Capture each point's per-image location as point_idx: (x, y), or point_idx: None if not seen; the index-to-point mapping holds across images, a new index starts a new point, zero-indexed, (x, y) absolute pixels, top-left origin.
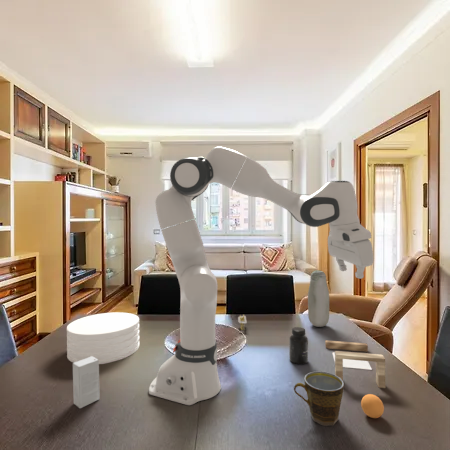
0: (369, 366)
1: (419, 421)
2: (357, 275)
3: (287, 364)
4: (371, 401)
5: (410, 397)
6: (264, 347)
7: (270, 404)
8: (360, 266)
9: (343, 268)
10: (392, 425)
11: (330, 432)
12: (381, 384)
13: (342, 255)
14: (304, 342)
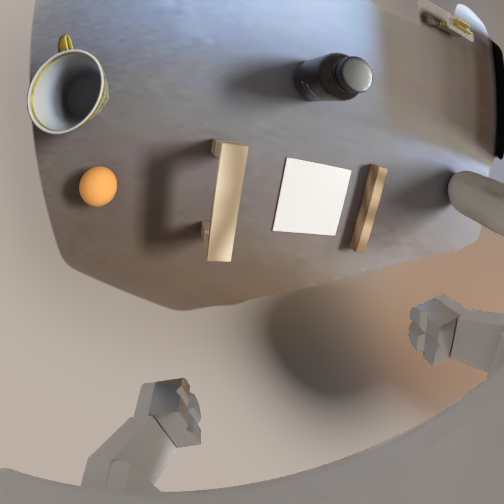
0: (286, 229)
1: (106, 253)
2: (144, 399)
3: (294, 51)
4: (82, 185)
5: (174, 265)
6: (371, 30)
7: (126, 7)
8: (6, 470)
9: (425, 330)
10: (85, 208)
11: None
12: (202, 228)
13: (429, 499)
14: (320, 84)
